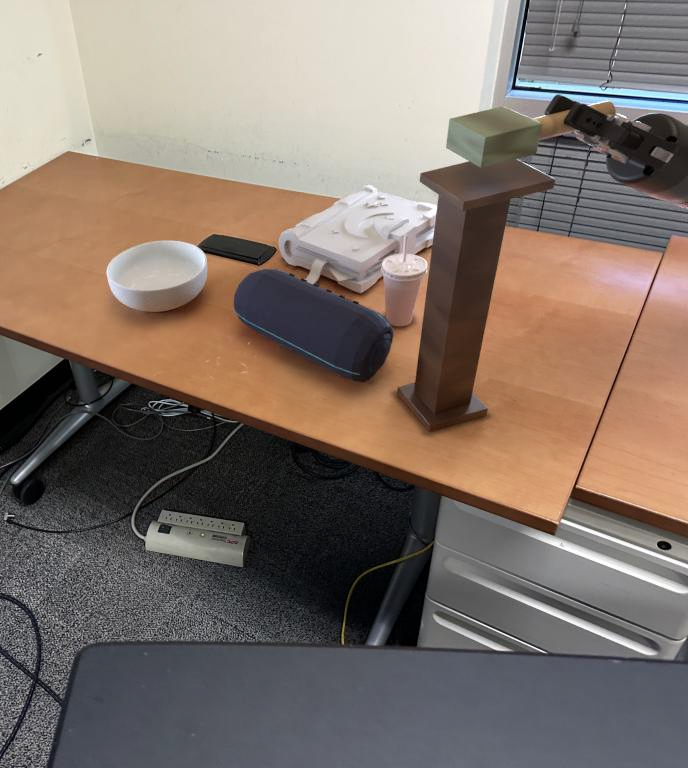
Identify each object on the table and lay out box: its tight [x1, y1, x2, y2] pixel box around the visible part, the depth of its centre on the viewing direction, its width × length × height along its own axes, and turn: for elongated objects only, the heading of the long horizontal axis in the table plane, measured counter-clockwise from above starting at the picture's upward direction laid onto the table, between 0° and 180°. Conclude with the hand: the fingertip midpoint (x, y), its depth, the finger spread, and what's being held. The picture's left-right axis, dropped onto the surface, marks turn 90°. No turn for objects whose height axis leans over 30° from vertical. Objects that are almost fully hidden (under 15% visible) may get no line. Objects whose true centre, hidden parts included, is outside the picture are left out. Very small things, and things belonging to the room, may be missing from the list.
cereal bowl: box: [106, 239, 208, 313], centre depth 115 cm, size 17×17×7 cm
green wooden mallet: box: [445, 100, 616, 168], centre depth 68 cm, size 16×6×3 cm, turn 105°
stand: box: [396, 159, 556, 433], centre depth 80 cm, size 10×8×31 cm
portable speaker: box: [232, 268, 394, 383], centre depth 98 cm, size 25×10×10 cm, turn 40°
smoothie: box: [381, 234, 428, 327], centre depth 100 cm, size 6×6×14 cm
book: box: [278, 184, 437, 294], centre depth 118 cm, size 19×28×8 cm
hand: (561, 108), depth 68 cm, fingers closed on green wooden mallet, 2 cm apart
